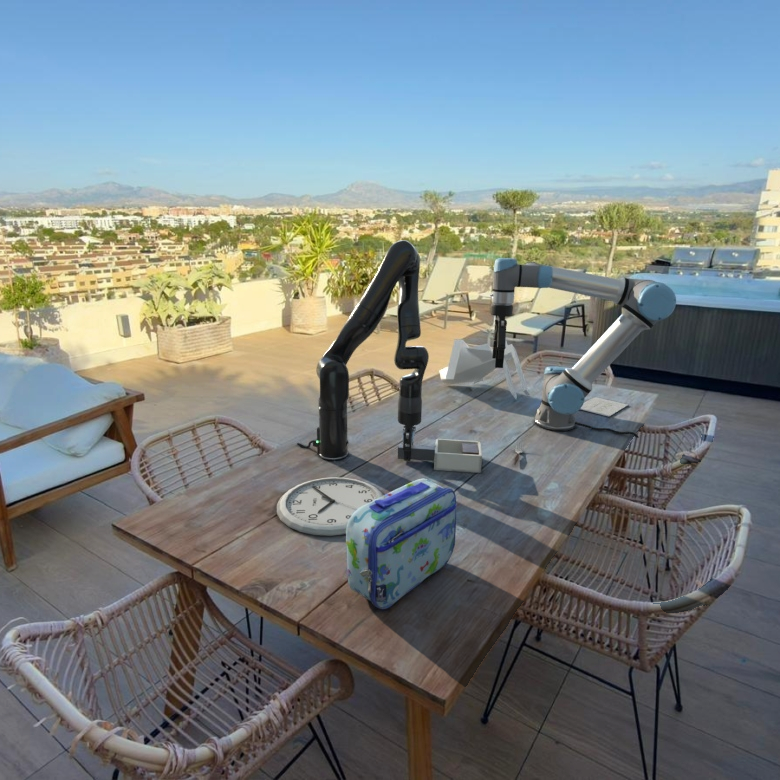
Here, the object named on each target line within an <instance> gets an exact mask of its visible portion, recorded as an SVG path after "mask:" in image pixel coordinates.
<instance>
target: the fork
mask: <svg viewBox="0 0 780 780" xmlns="http://www.w3.org/2000/svg"><path fill="white" fill-rule="evenodd" d="M524 447H525V444H523V443H521V442H517V443H516V447H515V450H514V452H515V453H516V455H515V456H514V466H516V465H517V462H518V461H519V458H520V454H523V452H524Z"/></svg>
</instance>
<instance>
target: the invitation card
mask: <svg viewBox="0 0 780 780" xmlns="http://www.w3.org/2000/svg"><path fill="white" fill-rule="evenodd" d="M628 406H629V404H627V403H623V402H618V401H614V400H609V399H605V398H601V397H596V396H593V397H592V398H590V399H588V400H586V401H584V403H583V406H582V407H581V408H580V409H579V410H581V411H584V412H587V413H593V414H596V415H600V416H604V417H608V418H609V417H611V416H613V415H614V414H616V413H617V412H619V411H621V410H623V409H624V408H626V407H628Z"/></svg>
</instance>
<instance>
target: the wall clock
mask: <svg viewBox="0 0 780 780" xmlns="http://www.w3.org/2000/svg"><path fill="white" fill-rule="evenodd" d="M384 495H385V494H384V493H383V492H382V491H381V490H380V489H379V488H377V487H376V486H374V485H372V484H371V483H369V482H365V481H362V480H359V479H355V478H349V477H338V476H337V477H335V476H333V477H332V476H331V477H322V478H317V479H312V480H307V481H305V482H302V483H299V484H297V485H295V486H293V487H292V488H290V489H288V490H287V491H286V492H285V493H284V494H283V495H281V496H280V498H279V499H278V502H277V503H276V515H277V517H278V518H279V520H280V521H281V522H282V523H283V524H285V525H286V526H287V527H288V528H290V529H293V530H295V531H297V532H299V533H303V534H308V535H312V536H327V537H328V536H329V537H331V536H332V537H333V536H342V535H346V528H347V524H348V521H349V519H350V517H351V515H352V514H353V513H354V512H355V511H356V510H357V509H358V508H360V507H362V506H364V505H366V504H368V503H370V502H372V501H374V500H376V499H378V498H380V497H382V496H384Z"/></svg>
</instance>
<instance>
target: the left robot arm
mask: <svg viewBox="0 0 780 780" xmlns="http://www.w3.org/2000/svg"><path fill="white" fill-rule="evenodd" d="M420 268H421V256H420V254H419V252H418V251H417V248H415V246H414V245H413V244H412V243H411V242H410V241H408V240H404V239H403V240H398V241H395V242H394V243H393V244H392V245H390V247H389V248H388V250H387V252H386V253H385V256H384V258H383V260H382V262H381V264H380V266H379V268H378V270H377V272H376V274H375V275H374V277H373V278H372V280H371V281H370V283H369V285H368V286H367V288H366V289H365V291H364V292H363V294H362V295H361V297H360V299H359V300H358V302H357V303H356V305H355V306H354V307H353V309H352V311H351V312H350V315H349V316H348V317H347V320H345V323H344V324H343V326H342V328H341V329H340V332H339V333H338V335H337V336H336V337H335V340H334V341H333V342H332V344H331V345H330V347H329V348H328V349H327V350H326V352H325V353H324V354H323V355H322V356H321V358H320V359H319V360H318V362H317V364H316V371H315V372H316V375H317V377H318V379H319V397H318V427H316V438H313V439H312V440H310V441H309V442H308V445H304V444H302V443H299V442H298V443H296V445H297V446H299V447H301V448H304V449H309V448H310V447H311V445H312V447H314V448H316V451H317V456H319V457H320V458H322V459H323V460H326V461H339V460H342V459H345V458H346V457H348V455H349V451H348V449H349V448H348V446H349V439H348V401H349V398H350V397H349V394H350V373H349V368H348V366H347V365H348V362H349V361H350V359H351V357H352V355H353V354H354V352H355V351H356V349H358V348H359V347H360V346H361V344H363V343H364V342H365V341H366V340H367V339H369V337H370V336H372V334H374V332H375V331H376V329H377V328H378V326H379V324H380V323H381V322H382V319H383V318H384V317H385V315H386V312H387V310H388V308H389V303H390V300H391V297H392V293H393V291H394V289H395V287H396V285H397V283H398V300H397V301H398V302H397V310H396V317H397V318H396V321H397V322H396V323H397V342H396V348H395V351H394V355H393V361H394V365H395V367H396V368H397V369H399V370H413V372H411V373H409V374H406V375H403V376H401V377H400V378H399V382H398V383H399V385H398V400H397V422H398V423H399V424H400V425H403V427H402V444H403V451H404V459H403V461H404V462H411V461H412V460H411V449H412V445H414V442H415V441H414V440H415V436H416V429H417V427H416V426H418V425H420V424H421V423H422V409H423V399H422V390H423V388H422V387H423V386H422V385H423V381H424V380H423V379H424V376H425V373H426V369H427V366H428V363H429V358H430V356H429V351H428V349H427V348H426V347H425V346H423V345H415V346H413V345H412V346H407V342H409V341H412V340H416V339H417V340H418V339H420V337H421V335H422V330H421V316H420V315H421V314H420V304H419V302H420V301H419V279H420V271H421V270H420ZM406 444H409V445H410V446H409V447H407V446H406Z"/></svg>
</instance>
